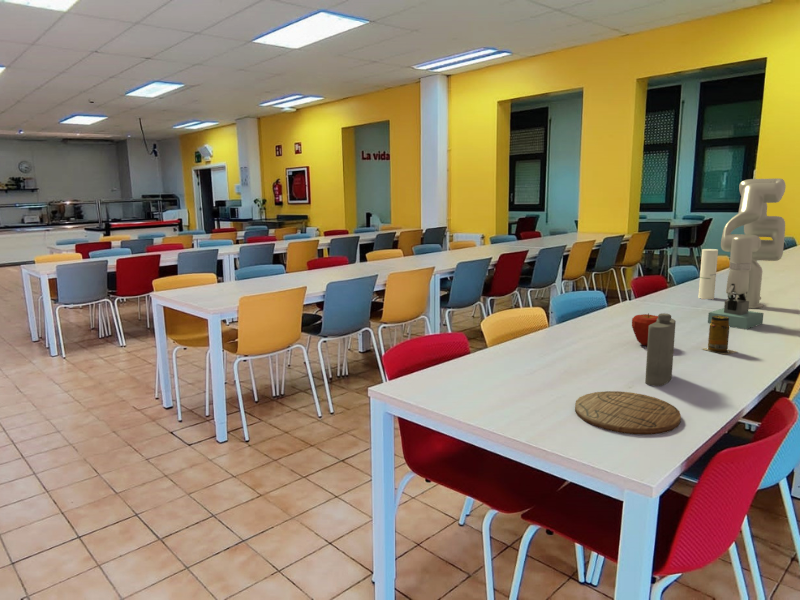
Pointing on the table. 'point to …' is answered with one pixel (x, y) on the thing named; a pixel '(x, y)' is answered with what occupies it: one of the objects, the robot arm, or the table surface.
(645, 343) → the apple
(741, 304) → the plug
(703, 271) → the cylindrical container
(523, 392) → the table surface
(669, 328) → the flask
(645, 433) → the trivet
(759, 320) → the socket
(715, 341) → the condiment
